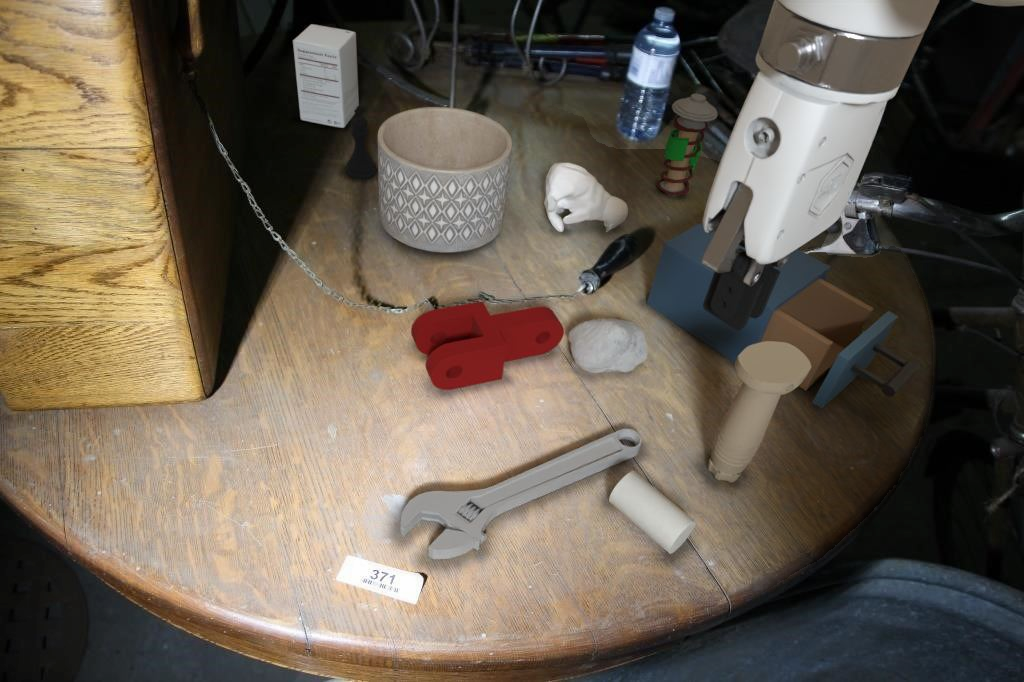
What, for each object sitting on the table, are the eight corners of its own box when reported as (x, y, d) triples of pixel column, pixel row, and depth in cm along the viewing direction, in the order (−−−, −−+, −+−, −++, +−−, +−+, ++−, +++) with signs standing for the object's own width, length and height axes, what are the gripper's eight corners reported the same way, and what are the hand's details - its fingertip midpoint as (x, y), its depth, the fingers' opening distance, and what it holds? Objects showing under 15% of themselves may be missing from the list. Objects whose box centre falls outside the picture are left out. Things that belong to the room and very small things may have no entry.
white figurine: (551, 150, 100) (637, 169, 101) (537, 204, 106) (619, 221, 107) (549, 173, 96) (640, 193, 97) (534, 228, 101) (620, 247, 102)
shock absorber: (695, 205, 111) (725, 109, 101) (653, 201, 111) (679, 104, 101) (689, 183, 116) (717, 89, 106) (648, 179, 115) (672, 84, 105)
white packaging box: (316, 101, 123) (310, 22, 114) (360, 109, 122) (357, 31, 114) (298, 120, 118) (291, 39, 109) (344, 129, 117) (339, 48, 108)
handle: (682, 461, 74) (727, 351, 64) (734, 444, 77) (785, 335, 67) (711, 499, 71) (763, 389, 61) (764, 480, 74) (822, 372, 64)
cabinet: (802, 326, 92) (830, 266, 86) (745, 370, 85) (772, 308, 79) (705, 267, 99) (725, 208, 93) (646, 303, 92) (664, 242, 86)
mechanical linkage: (430, 393, 77) (431, 359, 74) (410, 348, 82) (411, 313, 79) (569, 364, 83) (576, 330, 80) (543, 323, 88) (549, 289, 84)
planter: (501, 195, 107) (510, 112, 99) (504, 264, 95) (514, 176, 87) (384, 187, 106) (383, 101, 97) (373, 256, 94) (370, 166, 85)
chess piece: (339, 173, 107) (335, 106, 101) (357, 160, 110) (354, 95, 104) (364, 182, 106) (362, 116, 99) (382, 169, 109) (381, 104, 102)
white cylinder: (692, 534, 68) (698, 514, 65) (666, 560, 66) (672, 541, 63) (633, 484, 71) (637, 464, 68) (607, 508, 70) (610, 488, 67)
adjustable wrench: (628, 434, 76) (632, 422, 75) (664, 482, 72) (669, 470, 71) (394, 513, 66) (394, 501, 65) (421, 573, 62) (421, 562, 61)
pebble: (594, 323, 88) (602, 290, 85) (654, 356, 85) (664, 323, 82) (552, 360, 83) (559, 326, 80) (614, 397, 80) (623, 363, 77)
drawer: (910, 388, 84) (941, 340, 80) (863, 436, 78) (894, 388, 73) (770, 303, 93) (791, 256, 89) (718, 340, 87) (737, 291, 82)
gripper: (825, 109, 33) (710, 394, 46) (962, 44, 42) (834, 298, 54) (690, 50, 37) (617, 328, 49) (841, 1, 46) (747, 248, 58)
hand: (731, 311), depth 52 cm, fingers closed
